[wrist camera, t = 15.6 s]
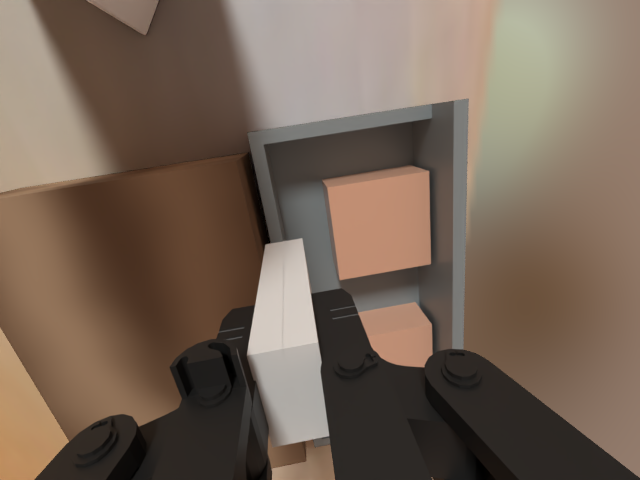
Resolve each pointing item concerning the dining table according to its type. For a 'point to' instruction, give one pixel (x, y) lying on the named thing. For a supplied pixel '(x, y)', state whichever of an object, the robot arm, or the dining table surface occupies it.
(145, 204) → the brown flat block
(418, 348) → the tile
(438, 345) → the tray
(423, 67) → the dining table surface
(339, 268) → the tile
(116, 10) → the milk
